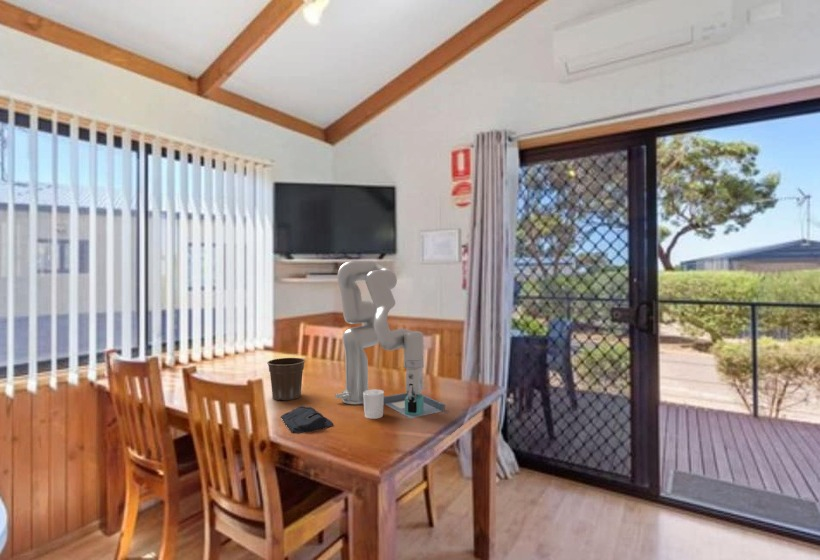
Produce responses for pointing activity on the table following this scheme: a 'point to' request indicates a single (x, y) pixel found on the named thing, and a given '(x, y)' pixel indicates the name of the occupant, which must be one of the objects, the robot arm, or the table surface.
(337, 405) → the table surface
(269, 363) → the plant pot
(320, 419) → the dark slate chunk
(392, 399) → the tray
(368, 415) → the white cup
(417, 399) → the teal cube
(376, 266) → the robot arm
